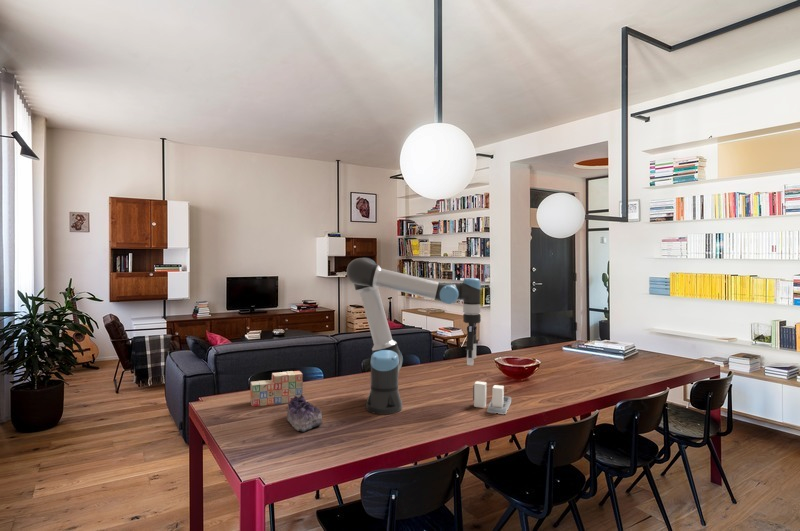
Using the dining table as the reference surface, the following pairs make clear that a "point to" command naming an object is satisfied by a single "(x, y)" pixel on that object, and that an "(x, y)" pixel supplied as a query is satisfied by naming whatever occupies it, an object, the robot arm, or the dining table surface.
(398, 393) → the robot arm
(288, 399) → the stack of blocks
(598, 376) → the dining table surface
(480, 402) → the block
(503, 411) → the rail
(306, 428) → the geode
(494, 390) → the block
